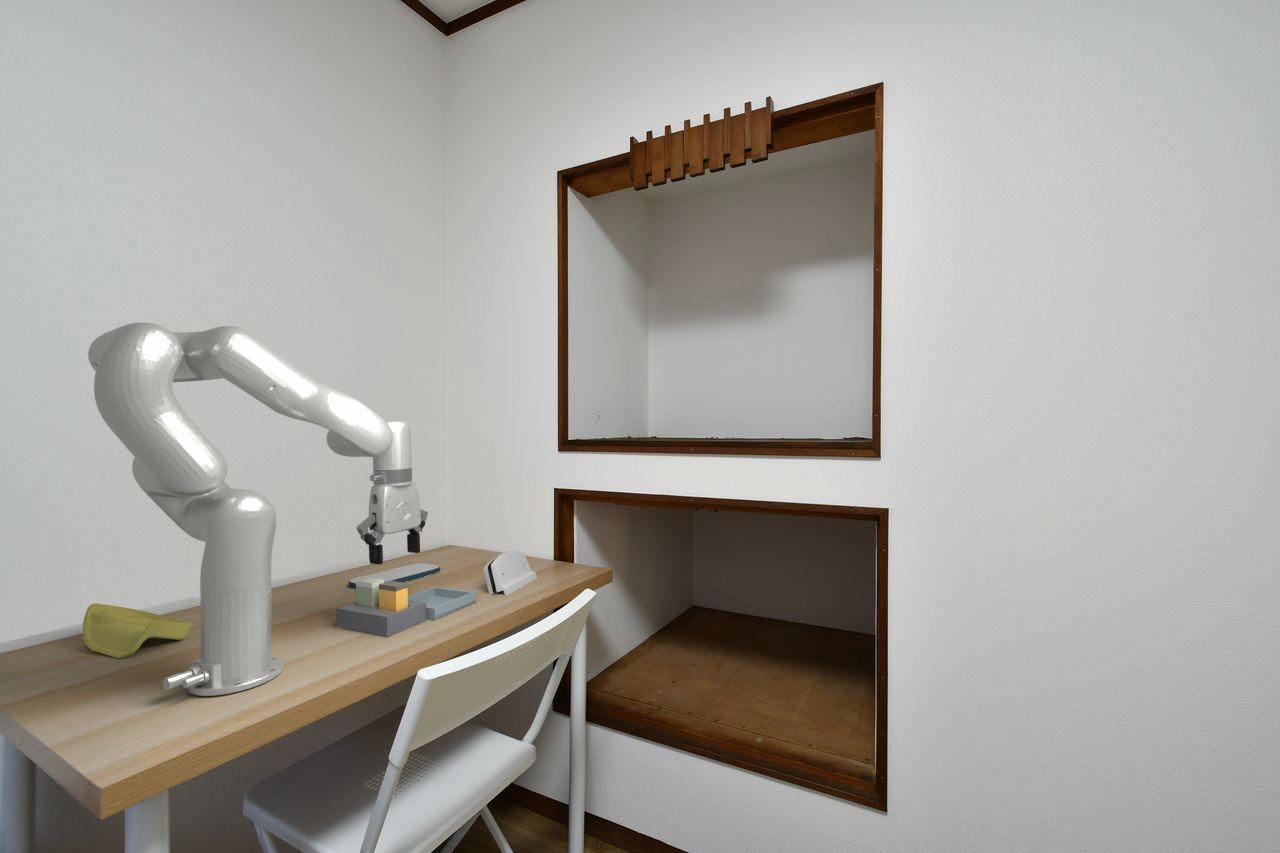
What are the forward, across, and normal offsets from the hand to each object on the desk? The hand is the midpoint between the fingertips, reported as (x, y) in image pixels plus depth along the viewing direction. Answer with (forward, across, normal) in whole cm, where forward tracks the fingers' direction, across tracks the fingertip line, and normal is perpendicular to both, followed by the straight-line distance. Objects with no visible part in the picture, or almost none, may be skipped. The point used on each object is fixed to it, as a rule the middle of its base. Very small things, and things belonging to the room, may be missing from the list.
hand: (395, 557), depth 114 cm
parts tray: (+15, +12, +1) cm, 19 cm away
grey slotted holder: (+16, +33, -4) cm, 37 cm away
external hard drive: (+16, +27, +31) cm, 44 cm away
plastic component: (+14, -27, +42) cm, 52 cm away
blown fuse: (+14, -1, 0) cm, 14 cm away
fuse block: (+14, -1, +4) cm, 15 cm away
